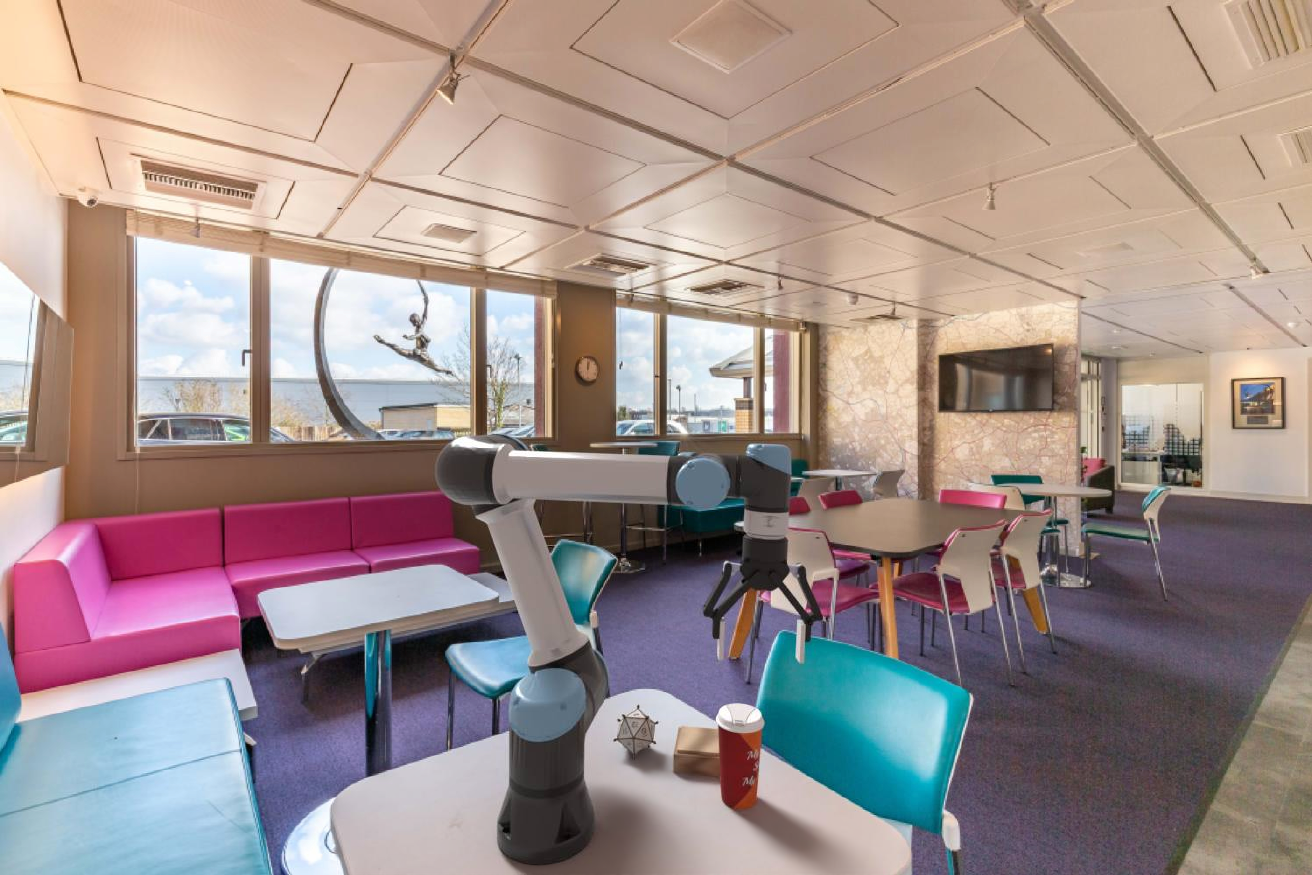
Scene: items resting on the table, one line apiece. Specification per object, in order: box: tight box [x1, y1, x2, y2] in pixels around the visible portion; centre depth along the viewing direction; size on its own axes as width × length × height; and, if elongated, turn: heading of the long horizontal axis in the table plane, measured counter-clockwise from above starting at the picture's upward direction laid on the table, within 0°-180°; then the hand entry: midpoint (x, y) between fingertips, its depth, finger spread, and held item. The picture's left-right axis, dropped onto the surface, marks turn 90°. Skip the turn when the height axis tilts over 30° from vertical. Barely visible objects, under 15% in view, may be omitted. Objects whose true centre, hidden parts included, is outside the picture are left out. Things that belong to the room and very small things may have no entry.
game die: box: [612, 703, 660, 760], centre depth 118 cm, size 9×8×10 cm
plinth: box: [672, 725, 720, 778], centre depth 116 cm, size 10×10×4 cm
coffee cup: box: [715, 702, 765, 811], centre depth 104 cm, size 8×8×15 cm
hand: (759, 658), depth 103 cm, fingers open, 13 cm apart
